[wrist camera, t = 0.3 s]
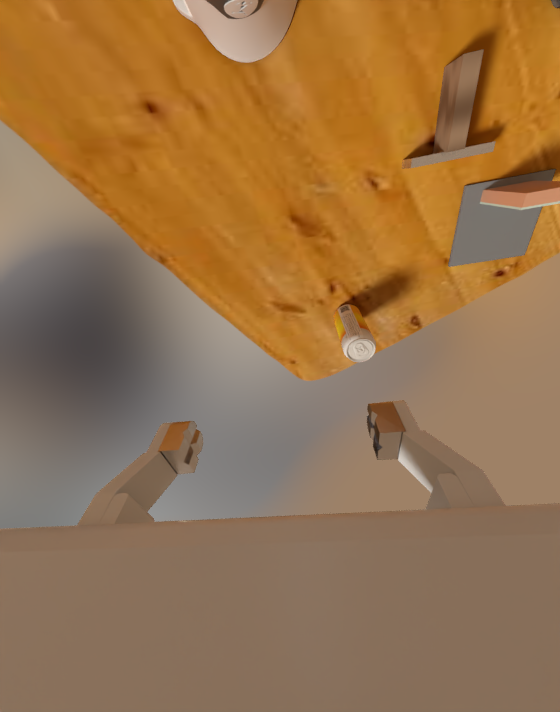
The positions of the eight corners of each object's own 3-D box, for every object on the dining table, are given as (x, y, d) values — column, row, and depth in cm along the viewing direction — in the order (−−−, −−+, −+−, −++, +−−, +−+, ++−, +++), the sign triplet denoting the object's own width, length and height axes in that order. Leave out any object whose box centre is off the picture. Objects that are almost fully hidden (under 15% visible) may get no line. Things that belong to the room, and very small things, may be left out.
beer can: (339, 330, 62) (351, 368, 50) (328, 310, 59) (339, 346, 47) (363, 318, 60) (382, 355, 48) (353, 298, 57) (370, 331, 45)
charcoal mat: (464, 185, 45) (466, 186, 44) (553, 169, 43) (555, 168, 43) (448, 266, 53) (449, 266, 52) (522, 254, 51) (524, 255, 51)
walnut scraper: (409, 76, 37) (424, 63, 33) (498, 54, 36) (525, 38, 32) (401, 168, 44) (413, 167, 40) (477, 153, 42) (497, 150, 38)
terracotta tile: (483, 190, 45) (526, 193, 36) (533, 180, 44) (589, 181, 35) (479, 203, 46) (521, 210, 38) (528, 194, 45) (582, 199, 37)
